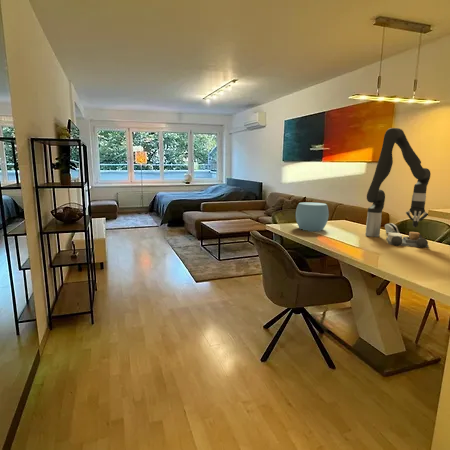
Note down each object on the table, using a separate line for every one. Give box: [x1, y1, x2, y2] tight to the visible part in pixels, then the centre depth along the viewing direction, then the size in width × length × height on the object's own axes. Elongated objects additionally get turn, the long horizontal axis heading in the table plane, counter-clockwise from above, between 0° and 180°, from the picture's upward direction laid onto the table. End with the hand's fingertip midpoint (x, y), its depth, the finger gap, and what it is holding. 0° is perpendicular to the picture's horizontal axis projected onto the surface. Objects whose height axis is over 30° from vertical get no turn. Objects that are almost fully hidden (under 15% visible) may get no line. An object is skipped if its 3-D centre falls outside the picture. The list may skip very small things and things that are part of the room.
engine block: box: [408, 231, 421, 240], centre depth 210 cm, size 5×5×6 cm
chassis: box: [385, 231, 430, 249], centre depth 212 cm, size 22×20×6 cm
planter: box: [295, 201, 330, 232], centre depth 255 cm, size 25×25×20 cm
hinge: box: [384, 222, 400, 234], centre depth 237 cm, size 17×5×10 cm, turn 174°
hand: (415, 226), depth 209 cm, fingers closed
